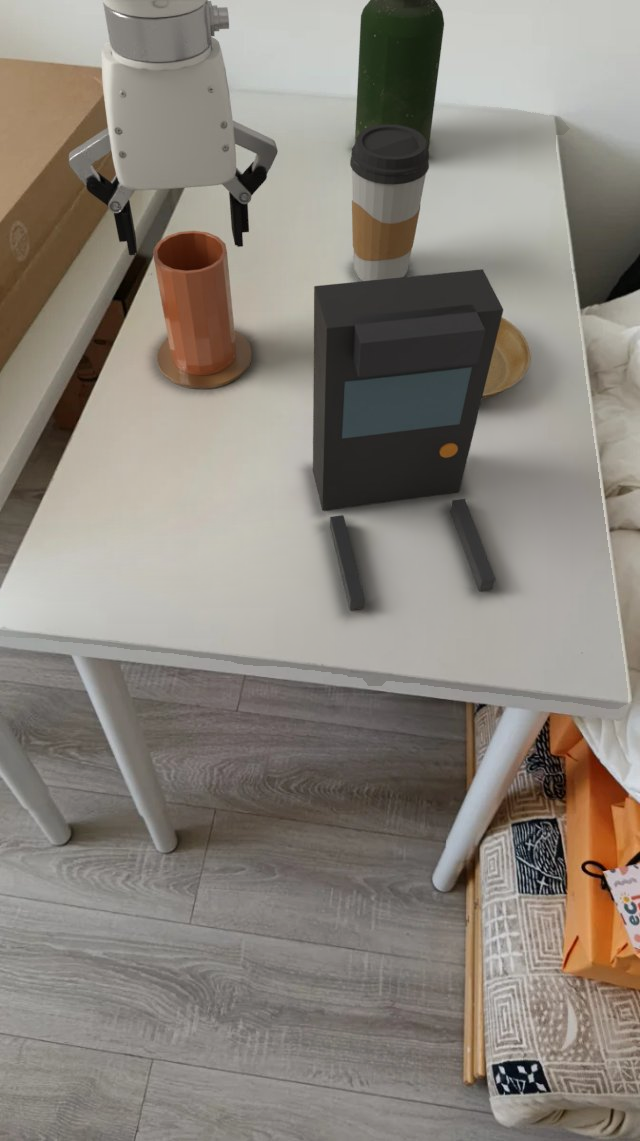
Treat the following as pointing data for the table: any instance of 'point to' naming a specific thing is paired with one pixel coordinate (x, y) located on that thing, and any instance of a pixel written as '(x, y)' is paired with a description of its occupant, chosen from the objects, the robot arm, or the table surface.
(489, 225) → the table surface
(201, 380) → the coaster
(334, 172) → the table surface
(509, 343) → the plant saucer
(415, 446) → the black box with legs
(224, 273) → the orange tube
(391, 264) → the coffee cup
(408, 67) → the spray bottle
